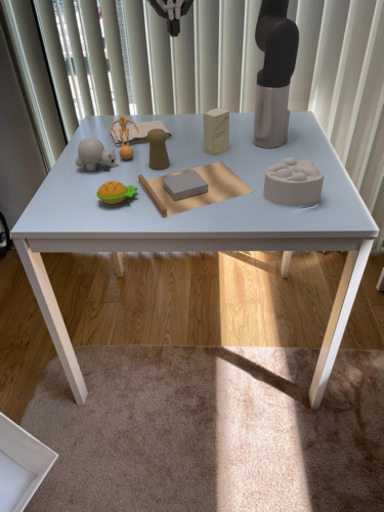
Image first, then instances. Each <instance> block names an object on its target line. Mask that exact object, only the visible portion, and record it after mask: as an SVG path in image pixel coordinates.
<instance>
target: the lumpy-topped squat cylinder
mask: <svg viewBox="0 0 384 512" xmlns="http://www.w3.org/2000/svg"><path fill="white" fill-rule="evenodd" d="M324 178H325V174H324V172H322V170H321V169H320V168H319V167H318V165H317V163H316V162H314V161H312V160H308V159H307V160H306V159H296V158H295V157H293V156H289V157H285V158H284V159H282V161H279V162H276V163H274V164H272V165H270V166H269V167H268V168H267V169H266V170H265V173H264V182H263V193H262V194H263V197H264V199H265V200H267V201H269V202H272V203H274V204H276V205H277V204H279V205H283V206H287V207H289V206H290V207H291V206H302V205H304V206H302V207H298V208H297V209H299V210H300V209H305V208H312V207H315V206H317V205H318V204H319V203H320V200H321V195H322V189H323V185H324ZM305 205H306V206H305Z"/></svg>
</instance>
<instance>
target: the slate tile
mask: <svg viewBox="0 0 384 512" xmlns="http://www.w3.org/2000/svg"><path fill="white" fill-rule="evenodd" d="M162 182H163V186H164V188H165V189H166V190H167V191H168V193H169V194H170V195H171V197H172V198H173V199H174V201H175V200H178V199H182V198H186V197H189V196H193V195H197V194H200V193H204V192H208V184H207V183H206V182H205V181H204V179H203V178H202V177H201V176H200V175H199V174H198V173H197V172H196V171H195V170H194V171H190V172H186V173H182V174H178V175H174V176H170V177H166V178H162Z"/></svg>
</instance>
